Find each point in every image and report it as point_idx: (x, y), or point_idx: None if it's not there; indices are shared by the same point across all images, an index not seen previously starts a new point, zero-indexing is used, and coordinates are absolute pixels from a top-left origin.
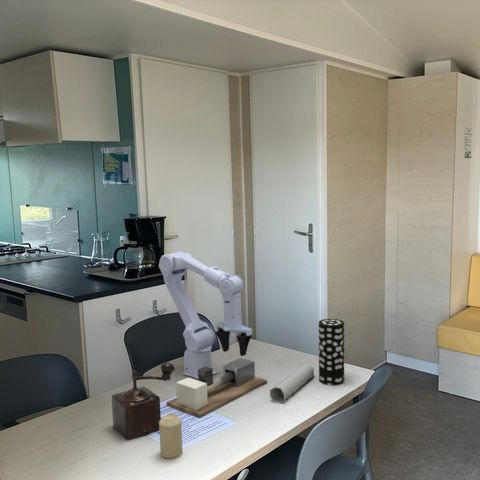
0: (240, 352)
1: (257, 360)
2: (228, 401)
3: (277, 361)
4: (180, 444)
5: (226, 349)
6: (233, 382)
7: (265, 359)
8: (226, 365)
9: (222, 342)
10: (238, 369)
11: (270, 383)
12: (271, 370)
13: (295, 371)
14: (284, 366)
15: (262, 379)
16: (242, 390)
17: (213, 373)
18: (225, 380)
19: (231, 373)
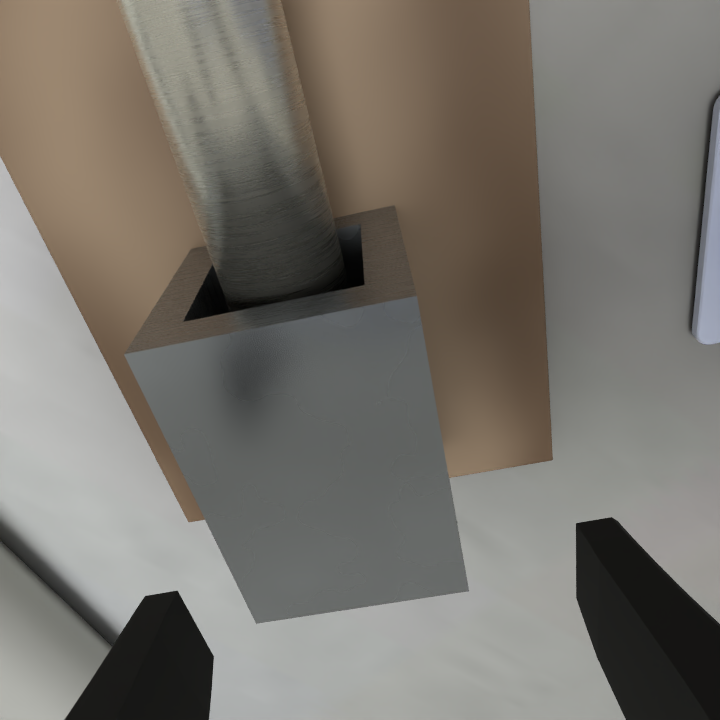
0: (132, 650)
1: (592, 659)
2: None
3: (471, 712)
4: None
5: (589, 588)
6: None
7: (559, 691)
8: (377, 336)
9: (701, 707)
10: (140, 379)
11: (172, 514)
12: (377, 629)
13: (26, 704)
14: (372, 699)
15: None
16: (84, 240)
17: (704, 293)
18: (158, 112)
19: (238, 287)
